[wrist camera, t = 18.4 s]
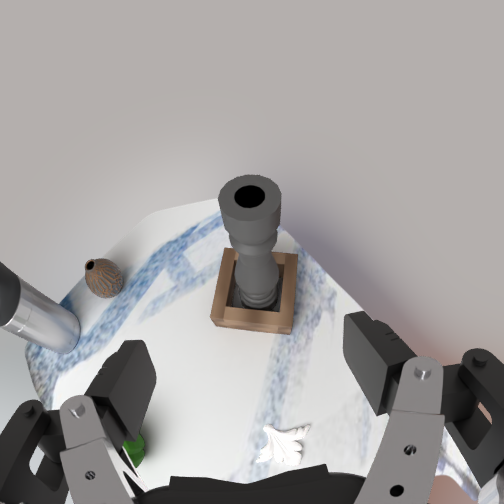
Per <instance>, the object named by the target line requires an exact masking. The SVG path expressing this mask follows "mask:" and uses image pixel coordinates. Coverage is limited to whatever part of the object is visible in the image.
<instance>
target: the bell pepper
mask: <svg viewBox="0 0 504 504" xmlns="http://www.w3.org/2000/svg"><path fill="white" fill-rule="evenodd" d="M144 446H145V443H144V439H143V438H142V437H141V435H140V434H138V437H137V441H136V442H132V441H124V443H123V447H124V448H125V450H126V452H127V454H128V456H129V458H130V459H131V461H132V463H133V465H134V467H135V468H137V467H138V466H139V465H140V463H141V462H142V460H143V457H144V455H145V452H144V451H143V447H144Z"/></svg>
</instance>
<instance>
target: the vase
mask: <svg viewBox="0 0 504 504" xmlns="http://www.w3.org/2000/svg"><path fill="white" fill-rule="evenodd" d="M85 270H86V273H85V279H86V283H87V285H88V287H89V289H90V290H91V291H92V292H93V293H94V294H96V295H97V296H99V297H102V298H111V297H114V296H115V295H117V294H118V293H119V291H120V290H121V288H122V284H123V278H122V274H121V272H120V270H119V268H118V267H117V266H116V265H115V264H114V263H113V262H111V261H110V260H107V259H96V260H94V259H91V260H89V261H87V263H86V264H85Z"/></svg>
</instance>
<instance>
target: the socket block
mask: <svg viewBox="0 0 504 504" xmlns="http://www.w3.org/2000/svg"><path fill="white" fill-rule="evenodd" d="M272 255H273V257H274V259H275V261H276V263H277V266H278V269H279V277H282V278H283V284H282V294H281V304H280V312H270V311H261V310H251V309H243V308H234V307H232V302H233V296H234V290H235V285H236V279H235V275H234V273H235V268H236V264H237V260H238V256H239V253H237V252H236V251H235V249H234V248H224V252H223V257H222V262H221V266H220V271H219V276H218V281H217V285H216V290H215V295H214V300H213V305H212V310H211V315H210V318H211V319H212V321H213V322H214V324H215V325H216V326H219V327H226V328H233V329H241V330H249V331H258V332H267V333H277V334H287V335H290V332H291V329H292V324H293V313H294V301H295V289H296V275H297V260H298V254H290V253H279V252H272Z"/></svg>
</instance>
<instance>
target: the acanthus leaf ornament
mask: <svg viewBox="0 0 504 504" xmlns="http://www.w3.org/2000/svg"><path fill="white" fill-rule="evenodd" d="M309 428H310V425H306V426H305V427H304V428H301V427H299V428H298V429H295V428H294V429H291V430H289V431H285V432H283V431H278V430H276V429H274V427H273V426H272V425H271V424H267V425H265V426H264V431H265V432H267V433H268V438H269V440H268V443H267V444H266V445H265V446H264V447H263V448H262V449H261V450H260V451H261V452H262V453H261V454H260V457H259V458H258V459H256V462H265V461H268V460H269V459H270V458H272V456H273V455H275V459H276V461H277V462H279V463H281V462H283V461H284V459H285V462H286V464H287V465H294V466H297V465H299V464H300V462H301V457H302V455H301V454H300V453H299V452H297V451H300V450H302V446H301V444H300V443H298V442H297V441H295V440H299V439H301V438H303V437H305V436H306V434H307V433H308V430H309Z"/></svg>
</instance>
